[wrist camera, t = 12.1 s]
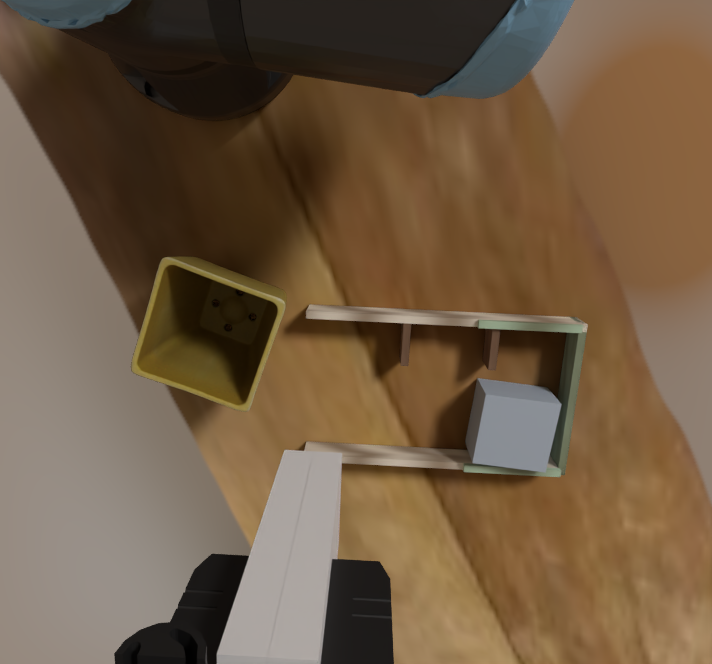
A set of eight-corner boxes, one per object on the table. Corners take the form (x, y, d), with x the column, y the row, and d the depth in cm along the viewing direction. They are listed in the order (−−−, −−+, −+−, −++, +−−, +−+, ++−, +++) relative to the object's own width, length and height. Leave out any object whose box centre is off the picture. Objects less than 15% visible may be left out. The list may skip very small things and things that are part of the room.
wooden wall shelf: (306, 447, 50) (302, 463, 47) (309, 304, 47) (305, 312, 44) (555, 460, 50) (566, 477, 47) (576, 317, 46) (589, 326, 43)
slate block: (464, 441, 50) (472, 463, 46) (476, 377, 48) (485, 394, 44) (532, 450, 50) (545, 472, 46) (546, 386, 48) (561, 404, 44)
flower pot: (303, 279, 46) (287, 302, 37) (269, 373, 48) (247, 415, 40) (201, 240, 46) (161, 254, 37) (172, 337, 48) (127, 372, 39)
